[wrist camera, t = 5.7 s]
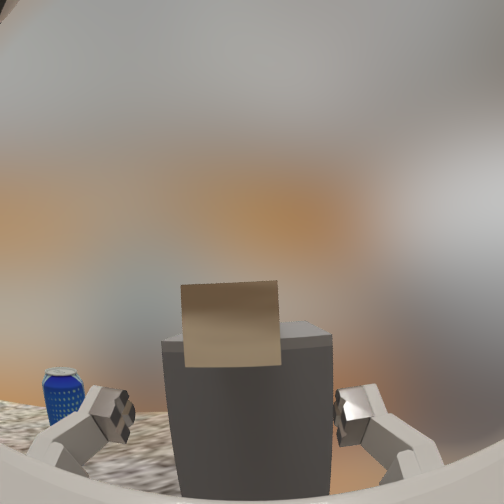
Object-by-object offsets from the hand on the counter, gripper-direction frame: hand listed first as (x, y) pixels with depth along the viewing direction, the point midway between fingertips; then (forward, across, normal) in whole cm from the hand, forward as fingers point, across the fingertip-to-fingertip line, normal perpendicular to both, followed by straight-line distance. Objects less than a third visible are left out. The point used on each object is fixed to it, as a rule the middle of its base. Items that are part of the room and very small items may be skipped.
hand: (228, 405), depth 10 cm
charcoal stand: (+2, 0, +30) cm, 30 cm away
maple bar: (+12, 0, +6) cm, 13 cm away
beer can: (+17, +36, +39) cm, 56 cm away
